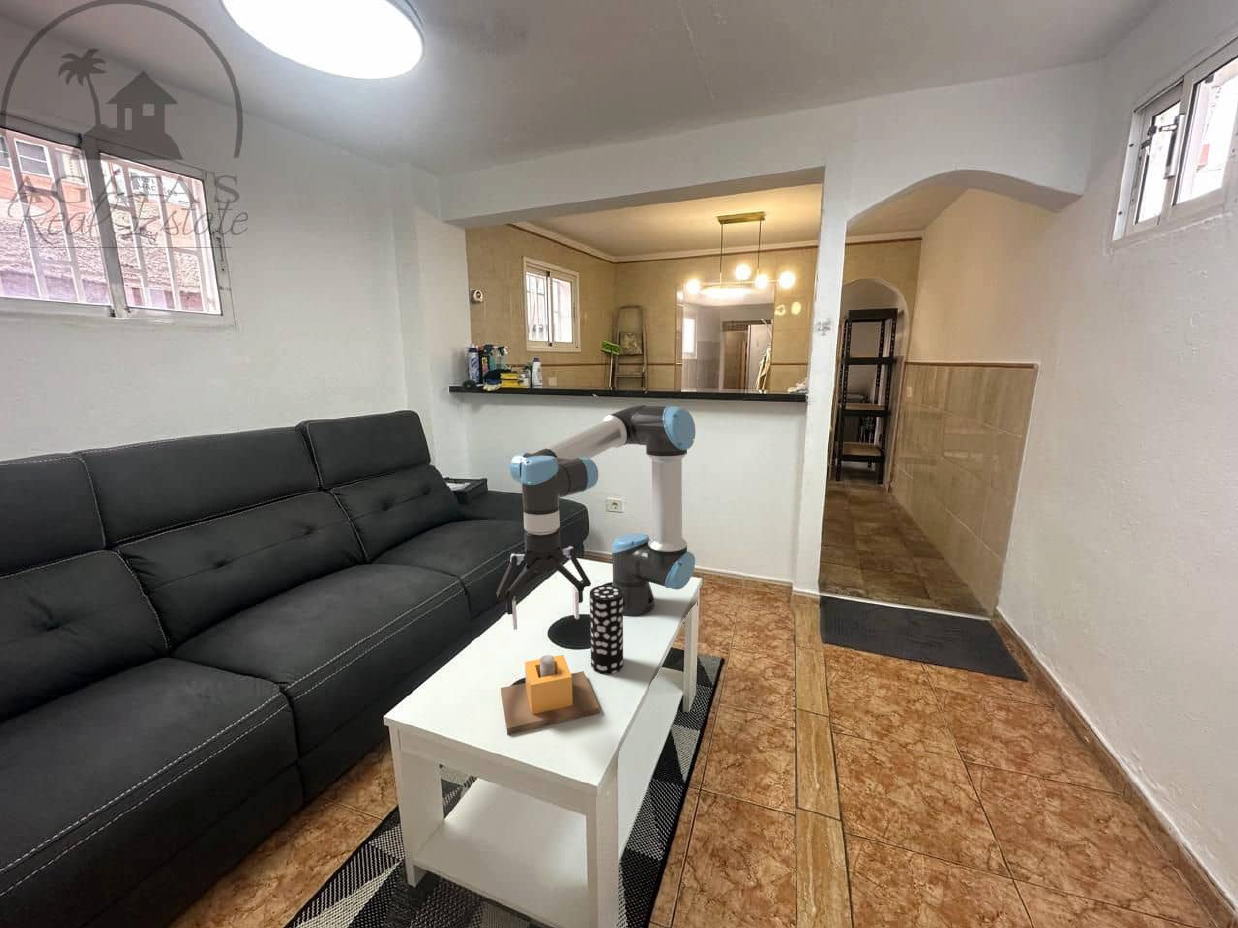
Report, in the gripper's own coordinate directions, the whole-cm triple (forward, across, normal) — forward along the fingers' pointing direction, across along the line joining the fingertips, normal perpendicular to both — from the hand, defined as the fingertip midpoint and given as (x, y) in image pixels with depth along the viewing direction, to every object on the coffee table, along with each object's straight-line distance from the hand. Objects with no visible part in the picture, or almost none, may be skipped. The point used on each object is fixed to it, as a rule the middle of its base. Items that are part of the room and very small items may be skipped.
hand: (546, 621), depth 108 cm
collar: (+19, 0, 0) cm, 19 cm away
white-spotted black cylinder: (+20, -17, -10) cm, 28 cm away
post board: (+20, 0, 0) cm, 20 cm away
